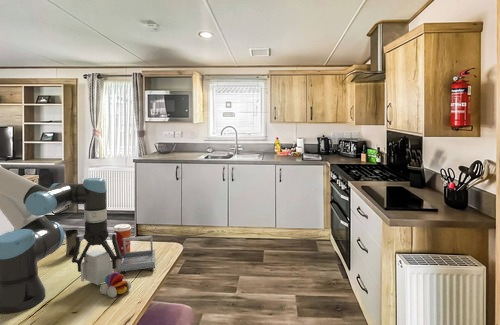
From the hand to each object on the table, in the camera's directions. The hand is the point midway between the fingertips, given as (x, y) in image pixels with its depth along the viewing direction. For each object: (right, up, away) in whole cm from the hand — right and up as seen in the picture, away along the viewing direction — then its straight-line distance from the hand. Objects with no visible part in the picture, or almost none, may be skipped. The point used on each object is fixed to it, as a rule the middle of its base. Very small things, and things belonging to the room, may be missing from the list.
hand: (97, 278), depth 127 cm
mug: (-26, +1, +29) cm, 39 cm away
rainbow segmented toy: (+9, -3, -6) cm, 12 cm away
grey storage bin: (+10, 0, +16) cm, 19 cm away
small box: (0, -1, 0) cm, 1 cm away
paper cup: (-1, +1, +28) cm, 28 cm away
